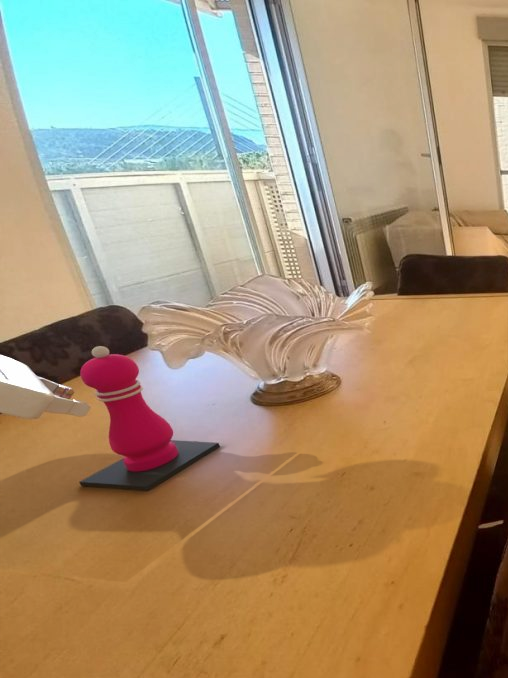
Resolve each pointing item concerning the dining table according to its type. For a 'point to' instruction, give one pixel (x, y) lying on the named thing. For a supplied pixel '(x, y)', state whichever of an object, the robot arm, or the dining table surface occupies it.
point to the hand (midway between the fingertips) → (78, 402)
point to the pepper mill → (129, 412)
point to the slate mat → (149, 479)
